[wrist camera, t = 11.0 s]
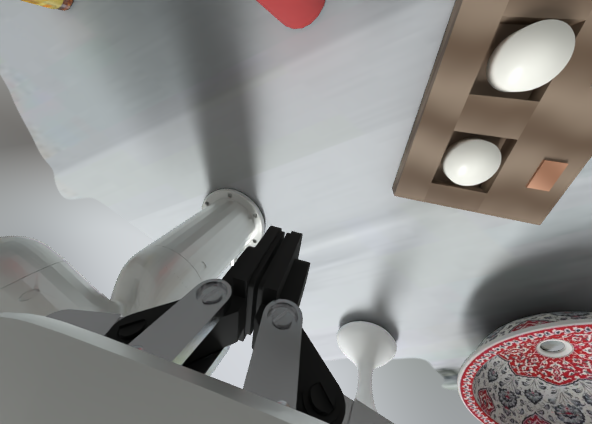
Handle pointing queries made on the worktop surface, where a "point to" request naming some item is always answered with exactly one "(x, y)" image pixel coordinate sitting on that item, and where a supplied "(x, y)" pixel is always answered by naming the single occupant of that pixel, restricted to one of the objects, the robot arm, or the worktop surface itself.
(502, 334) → the ceramic bowl
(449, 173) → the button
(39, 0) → the sauce bottle
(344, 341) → the flower in vase
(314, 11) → the beer can
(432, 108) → the button board
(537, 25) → the middle button
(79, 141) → the worktop surface
